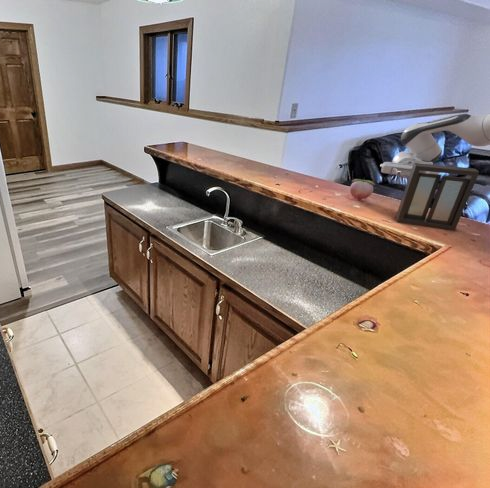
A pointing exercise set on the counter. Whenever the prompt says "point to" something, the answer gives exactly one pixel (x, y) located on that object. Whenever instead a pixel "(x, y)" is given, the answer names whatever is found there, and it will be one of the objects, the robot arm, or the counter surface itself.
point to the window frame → (441, 196)
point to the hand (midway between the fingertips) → (411, 174)
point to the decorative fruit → (361, 188)
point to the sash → (422, 195)
